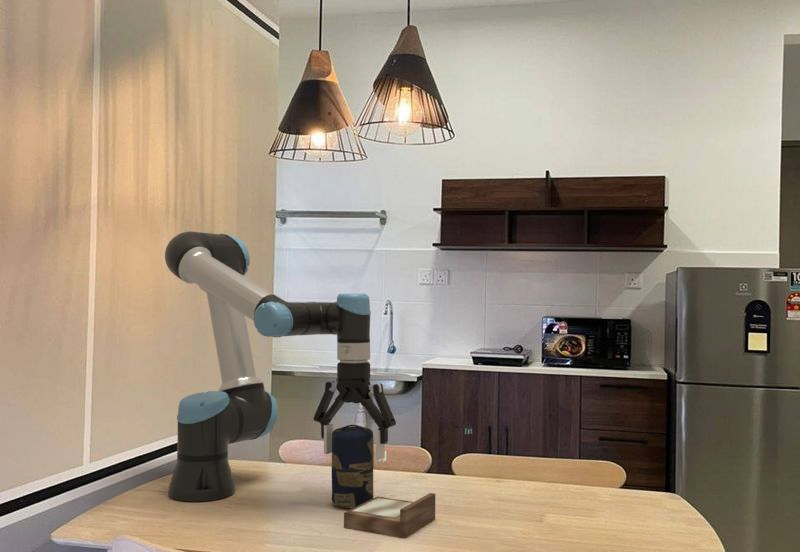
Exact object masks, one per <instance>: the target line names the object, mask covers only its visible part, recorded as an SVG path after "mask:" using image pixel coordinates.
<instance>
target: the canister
mask: <svg viewBox="0 0 800 552" xmlns="http://www.w3.org/2000/svg"><path fill="white" fill-rule="evenodd" d="M374 444H375V442H374V431H373V430H372V429H370V428H368V427H363V426H362V425H358V424H348V425H344V426H342V427H337V428H336V429H333V433H332V453H331V502H332V504H334V505H335V506H336V507H340V508H345V509H346V508H347V509H353V508H355V507H357V506H359V505H361V504H363V503H365V502H367V501H369V500H371V499H373V498H374V466H375V462H374V461H375V459H374V455H375V454H374V453H375V452H374V449H375V448H374V446H375V445H374Z"/></svg>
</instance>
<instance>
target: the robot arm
mask: <svg viewBox="0 0 800 552" xmlns="http://www.w3.org/2000/svg"><path fill="white" fill-rule="evenodd" d="M164 260H165V264H166V267H167V269H169V271H170V272H171V273H172V274H173V275H174V276H175V277H176V278H178V279H180V280H181V281H183V282H185V284H186V283H187V284H195V285H197V286H198V287H199V289H200V290H201V291H203V292H205V294H206V297H207V302H208V304H207V305H208V307H209V308H208V309H209V314H210V320H211V326H212V332H213V336H214V343H215V349H216V354H217V361H218V366H219V371H220V378H221V382H222V383H221V385H220V386H219V388H218V390H216V391H215V390H209V391H205V392H203V391H201V392H196V393H192V394H189V395H187V396H185V397H183V398H182V399H181V400H180V401H179V403H178V406H177V407H178V408H177V409H178V410H177V416H176V420H177V446H176V447H177V449H176V450H177V456H176V464H175V466H174V467H175V468H174V470H173V473H172V477H171V481H170V483H169V485H168V496H169V498H171V499H172V500H176V501H182V502H192V503H195V502H210V501H215V500H220V499H226V498H228V497H230V496H232V495H233V494H235V492H236V484H235V483H236V482H235V479H234V478H233V474H232V470H231V466H230V463H229V458H228V457H229V454H228V453H229V451H228V449H229V445H230V444H235V443H240V442H246V441H252V440H256V439H258V438H262V437H264V436H266V435H268V434H269V433H270V432H271V431H272V430H273V428H274V426H275V425H276V423H277V420H278V414H279V408H278V403H277V402H278V401H277V400H276V398H275V397H274V396H273V395H272V393H271V392H269V391H267V390H265V385H264V381H263V380H261V379H260V378H258V377H257V374H256V369H255V364H254V359H253V357H254V356H253V353H252V348H251V347H252V346H251V341H250V336H249V331H248V326H247V325H248V324H247V319H246V317H247V318H249V319H250V320H251V321H253V324H254V328H256V330H257V332H258V333H259V334H260V335H261V336H263V337H269V338H270V337H271V338H282V337H295V336H312V335H313V336H314V335H316V336H317V335H336V339H337V340H336V345H337V346H336V351H337V352H336V358H337V360H338V361H339V362H338V363H337V364H336V377H337V379H338V380H337V382H336V381H334V380H331V381H326V383H325V385H324V386H325V387H324V393H323V394H322V397H321V400H320V401H319V403H318V406H317V409H316V411H315V413H314V415H313V418H312V419H313V421H314V422H318V423H319V424H320V426H321V427H320V436H321V439H323V454H324V455H329V454H332V433H333V431H334V423H332V420H333V418H335V416H336V414H338V412H339V411H340V409H341V408H342V407H343V406H344V404H345V403H346V404H347V403H349V404H350V403H353V404H361V405H362V406H363V407H364V409H365V410H366V411H367V413H368V414H369V416H370V418H371V419H372V420H373V421H374V422H375V424H376V425H377V427H378V428H377V429H375V460H378V461H379V460H382V459H384V458H385V457H386V451H385V450H386V447H385V445H386V444H387V443H388V442H389V428H391V427H394V426H397V425H396V424H397V421H396V419H395V417H394V414H393V412H392V410H391V408H390V405H389V402H388V401H387V398H386V396H385V394H384V385H383V384H382V383H375V384H371V382H370V379H371V363H370V361H369V360H371V338H370V337H371V334H370V333H371V332H370V331H371V330H370V329H371V314H372V312H371V305H370V296H369V295H368V294H366V293H338V294H337V297H336V301H335V302H331V301H330V302H329V301H328V302H321V301H320V302H317V301H305V302H303V301H301V302H297V301H290V302H289V301H287V300H284V299H282V298H281V297H279V296H277V295H276V294H274V293H273V292H271V291H270V290H268V289H266V288H264V287H263V286H261V285H259V284H258V283H256V282H254V281H253V280H251V279H249V278H248V277H246V276H245V275H246V274H247V273H248V270H249V268H248V267H249V266H250V262H251V261H250V260H251V259H250V252H249V250H248V248H247V245H245V243H244V241H242V239H239V237H236V236H233V235H229V234H225V233H211V232H209V233H208V232H202V231H201V232H200V231H199V232H198V231H184V232H181V233H179V234H177V235H175V236H174V237H173V238H171V240H169V241H168V243H167V246H166V247H165V251H164ZM336 391H337V392H338V395H337V396H336V397H335V399H334V402H333V403H332V405H331V406H330V404H331V401H332V399H333V398H334V394H335V392H336ZM370 392H371V394H373V397H374V399H373V398H372V396H371V394H370ZM374 400H375V402H376V404H375V403H374ZM329 406H330V407H329Z"/></svg>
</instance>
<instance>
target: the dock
mask: <svg viewBox="0 0 800 552" xmlns="http://www.w3.org/2000/svg"><path fill="white" fill-rule="evenodd" d="M435 520H436V493H435V492H434V493H433V492H429V493H427V494H426V495H424V496H422V497H420V498H417V499H416V500H415V501H409V500H403V499H397V498H391V497H390V498H389V497H384V496H376V497H373V499H371V500H369V501H367V502H365V503H363V504H361V505H359V506H357V507H355V508H350V509H348V510H347V511H345V512H343V528H344V529H351V530H354V531H355V530H356V531H361V532H368V533H373V534H380V535H385V536H390V537H397V538H402V539H407V538H408V537H410V536H412V535H413V534H415V533H416V532H418V531H419V530H420V529H422V528H424V527H426V526H427V525H429V524H430V523H432V522H433V521H435Z"/></svg>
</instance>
